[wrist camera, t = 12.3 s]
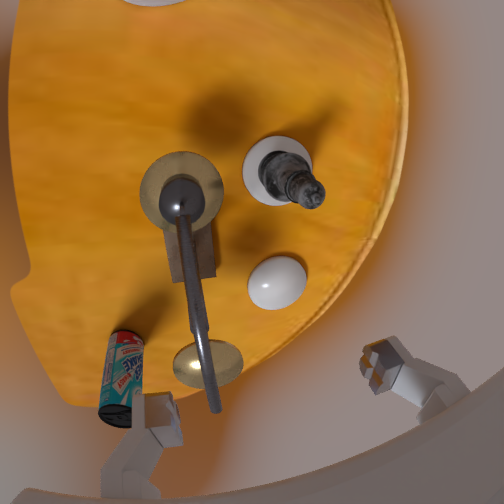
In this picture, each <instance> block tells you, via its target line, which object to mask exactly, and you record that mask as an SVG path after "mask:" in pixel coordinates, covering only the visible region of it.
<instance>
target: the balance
mask: <svg viewBox="0 0 504 504" xmlns="http://www.w3.org/2000/svg"><path fill="white" fill-rule="evenodd" d="M223 195H224V188H223V182H222V179H221V176H220V174H219V172H218V171H217V169H216V168H215V166H214V165H213V164H212V163H211V162H210V161H209V160H208V159H206V158H205V157H203V156H201V155H199V154H196V153H193V152H187V151H178V152H172V153H169V154H166V155H164V156H162V157H160V158H159V159H157V160H156V161H155V162H154V163H153V164H152V165H151V166H150V167H149V168H148V170H147V171H146V173H145V175H144V177H143V179H142V182H141V186H140V202H141V206H142V208H143V211H144V213H145V214H146V216H147V217H148V219H149V220H150V221H151V222H152V223H153V224H155V225H156V226H157V227H159V228H161V229H163V233H164V239H165V244H166V250H167V255H168V261H169V266H170V271H171V276H172V281H173V283H177V282H184V284H185V290H186V296H187V301H188V312H189V322H190V330H191V332H192V333H193V334H194V339H195V342H193V343H191V344H188V345H187V346H185V347H183V348H182V349H181V350H180V351H179V352H178V353H177V354H176V356H175V357H174V360H173V371H174V374H175V376H176V378H177V379H178V380H179V381H180V382H182V383H183V384H185V385H187V386H190V387H193V388H199V389H205V390H206V394H207V398H208V402H209V406H210V410H211V412H212V413H216V414H217V413H220V412H221V411H222V405H221V400H220V395H219V391H218V387H220V386H223V385H226V384H228V383H230V382H231V381H233V380H234V379H235V378H236V377H238V375H239V374H240V373H241V371H242V369H243V358H242V355H241V352H240V351H239V350H238V349H237V348H236V347H235V346H234V345H232V344H230V343H228V342H225V341H221V340H213V339H209V338H208V331H209V324H208V319H207V313H206V307H205V302H204V296H203V290H202V284H201V279H205V278H212V277H216V270H215V260H214V251H213V241H212V231H211V220H212V219H213V218H214V217H215V216H216V215H217V213H218V211H219V209H220V207H221V205H222V201H223Z"/></svg>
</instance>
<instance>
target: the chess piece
mask: <svg viewBox="0 0 504 504" xmlns="http://www.w3.org/2000/svg"><path fill="white" fill-rule="evenodd" d="M258 177H259V180H260V182H261V183H262V185H263V186H264V187H265V190H266V191H267V193H268V194H269V195H270V196H271V197H272V198H273V199H275V200H278V201H281V202H290V201H291V202H294V203H299V204H300V205H301V206H303V207H304V208H306V209H315V208H317V207H319V206H320V205H321V204H322V203H323V201H324V199H325V189H324V187H323V185H322V184H321V183H320V182H319V181H317V180H316V179H315V177H314V175H313V174H312V173H311V169H310V166H309V164H308V162H307V161H306V160H305V159H304V158H303V157H302V156H300V155H298V154H295V153H288V152H286V151H281V150H278V151H273V152H270V153H268V154H267V155H266V156H264V158H263V159H262V160H261V162H260V164H259V167H258Z"/></svg>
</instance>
